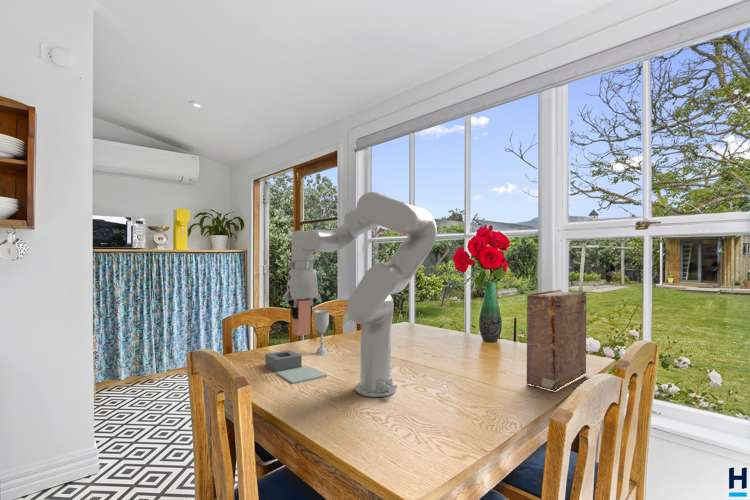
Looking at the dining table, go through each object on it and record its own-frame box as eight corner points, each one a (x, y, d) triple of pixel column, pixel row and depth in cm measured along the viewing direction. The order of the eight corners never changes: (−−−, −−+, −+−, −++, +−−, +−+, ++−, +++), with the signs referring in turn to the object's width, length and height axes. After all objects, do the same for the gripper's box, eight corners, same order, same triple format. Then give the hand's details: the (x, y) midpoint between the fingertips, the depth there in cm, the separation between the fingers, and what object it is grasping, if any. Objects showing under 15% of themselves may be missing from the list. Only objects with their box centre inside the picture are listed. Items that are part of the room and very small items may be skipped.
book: (559, 370, 142) (560, 289, 142) (586, 376, 135) (586, 291, 136) (526, 385, 125) (526, 294, 126) (554, 393, 119) (555, 296, 119)
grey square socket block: (301, 367, 143) (301, 355, 143) (276, 372, 137) (276, 359, 137) (289, 361, 151) (290, 350, 151) (265, 365, 145) (265, 353, 145)
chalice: (328, 356, 159) (328, 312, 159) (312, 355, 159) (312, 312, 160) (330, 351, 167) (331, 310, 167) (315, 351, 167) (315, 309, 167)
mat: (327, 376, 133) (327, 374, 133) (292, 384, 125) (292, 382, 125) (309, 367, 143) (309, 365, 143) (276, 373, 135) (276, 372, 135)
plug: (310, 334, 134) (310, 300, 134) (298, 336, 131) (299, 301, 131) (304, 332, 138) (304, 298, 138) (292, 333, 135) (293, 299, 135)
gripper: (284, 266, 126) (283, 322, 126) (328, 266, 137) (328, 317, 137) (275, 265, 132) (274, 318, 132) (318, 265, 143) (317, 314, 142)
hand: (301, 317), depth 134 cm, fingers closed on plug, 4 cm apart
